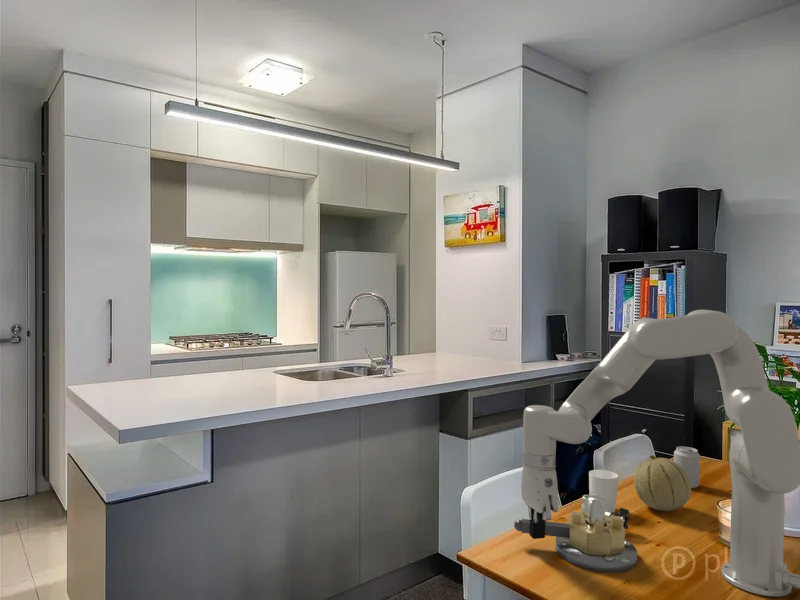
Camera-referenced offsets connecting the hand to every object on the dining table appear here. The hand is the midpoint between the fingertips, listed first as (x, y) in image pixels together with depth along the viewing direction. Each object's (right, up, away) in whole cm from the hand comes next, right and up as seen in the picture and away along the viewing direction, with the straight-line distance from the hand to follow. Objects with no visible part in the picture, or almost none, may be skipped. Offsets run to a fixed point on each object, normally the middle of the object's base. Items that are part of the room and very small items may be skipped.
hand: (537, 536), depth 129 cm
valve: (+21, -4, +16) cm, 27 cm away
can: (+60, -5, +48) cm, 77 cm away
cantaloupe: (+42, -4, +28) cm, 51 cm away
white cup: (+26, -4, +27) cm, 38 cm away
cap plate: (+14, -4, 0) cm, 14 cm away
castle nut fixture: (+8, -1, +2) cm, 8 cm away
